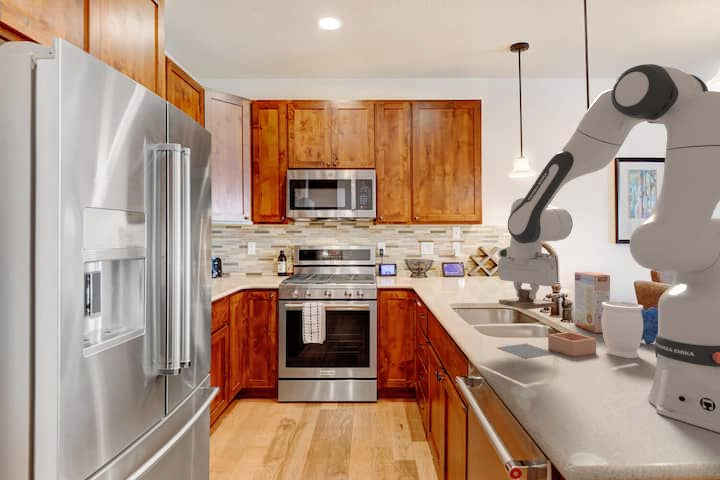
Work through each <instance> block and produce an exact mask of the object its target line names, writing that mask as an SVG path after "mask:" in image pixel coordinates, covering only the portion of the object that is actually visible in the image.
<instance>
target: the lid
mask: <svg viewBox="0 0 720 480" xmlns="http://www.w3.org/2000/svg"><path fill="white" fill-rule="evenodd" d="M531 289H532V288H522V289H519V297H516V298H506V299H499V300H498V304H499V305H503V306H507V307H513V308H515V309H516V308H517V309H522V310H535V309H544V308H545V309H546V308H554V307H556V303H555V302H553V301H549V300H542V299H537V298H536V299H533V300H532V299H528V293H530V291H531Z"/></svg>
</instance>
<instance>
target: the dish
mask: <svg viewBox="0 0 720 480" xmlns="http://www.w3.org/2000/svg"><path fill="white" fill-rule="evenodd" d="M547 336H548V345H547V346H548V347H547V349H548V351H551V352H555V353H556V352H557V353H559V354H562V355H565V356H567V357H572V358H579V357H583V356H589V355H590V356H591V355H596V354H597V338H595V337H591V336H588V335H583V334H579V333H576V332H573V331H565V332H559V333H551V334H548V335H547Z"/></svg>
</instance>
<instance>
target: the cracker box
mask: <svg viewBox="0 0 720 480" xmlns="http://www.w3.org/2000/svg"><path fill="white" fill-rule="evenodd" d="M610 297H611V275H609V274H603V273H598V272H591V271H575V272H574V321H573V323H574V325H575V326H577V327H580V328H582V329H584V330H586V331H589V332H591V333H593V334H603V331H602V325H601V320H602V313H603V310H604V308H603V307H602V303H603V302H611V300H610V299H611V298H610Z"/></svg>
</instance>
